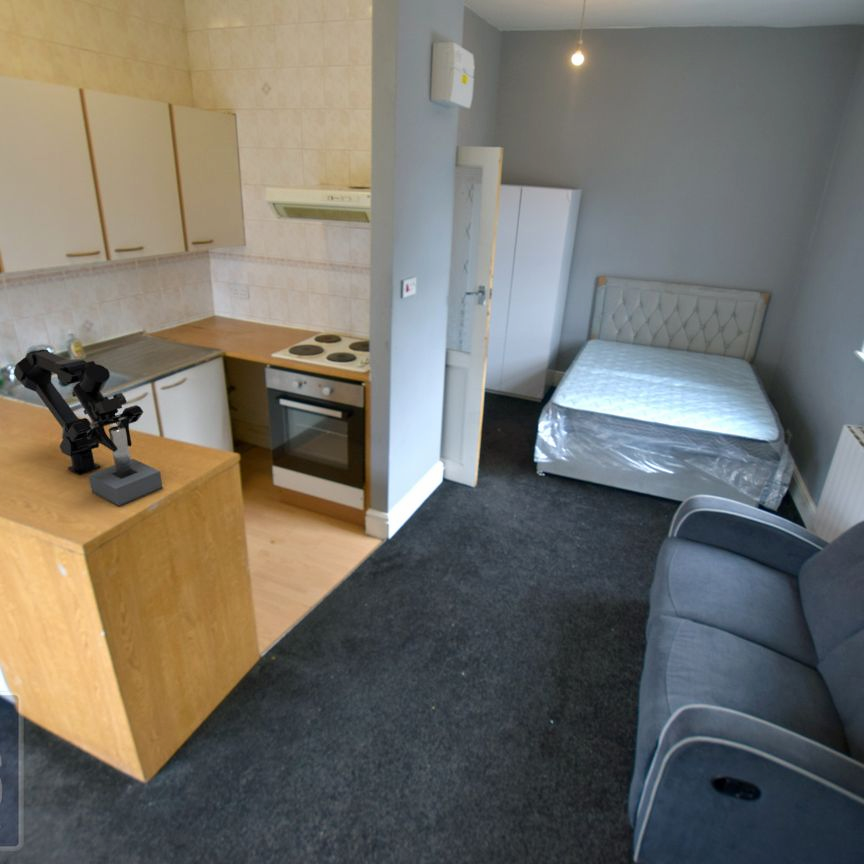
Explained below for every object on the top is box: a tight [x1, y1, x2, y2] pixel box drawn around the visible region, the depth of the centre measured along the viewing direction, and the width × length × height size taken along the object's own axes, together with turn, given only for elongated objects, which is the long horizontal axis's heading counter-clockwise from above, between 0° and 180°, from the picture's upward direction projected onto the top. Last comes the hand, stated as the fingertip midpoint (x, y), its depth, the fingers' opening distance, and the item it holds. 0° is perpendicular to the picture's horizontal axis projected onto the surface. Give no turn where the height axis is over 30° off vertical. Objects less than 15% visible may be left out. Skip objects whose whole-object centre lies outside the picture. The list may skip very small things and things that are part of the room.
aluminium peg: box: [108, 425, 132, 472], centre depth 158 cm, size 4×4×12 cm
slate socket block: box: [88, 458, 163, 508], centre depth 162 cm, size 13×13×6 cm
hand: (123, 448), depth 157 cm, fingers closed on aluminium peg, 4 cm apart
